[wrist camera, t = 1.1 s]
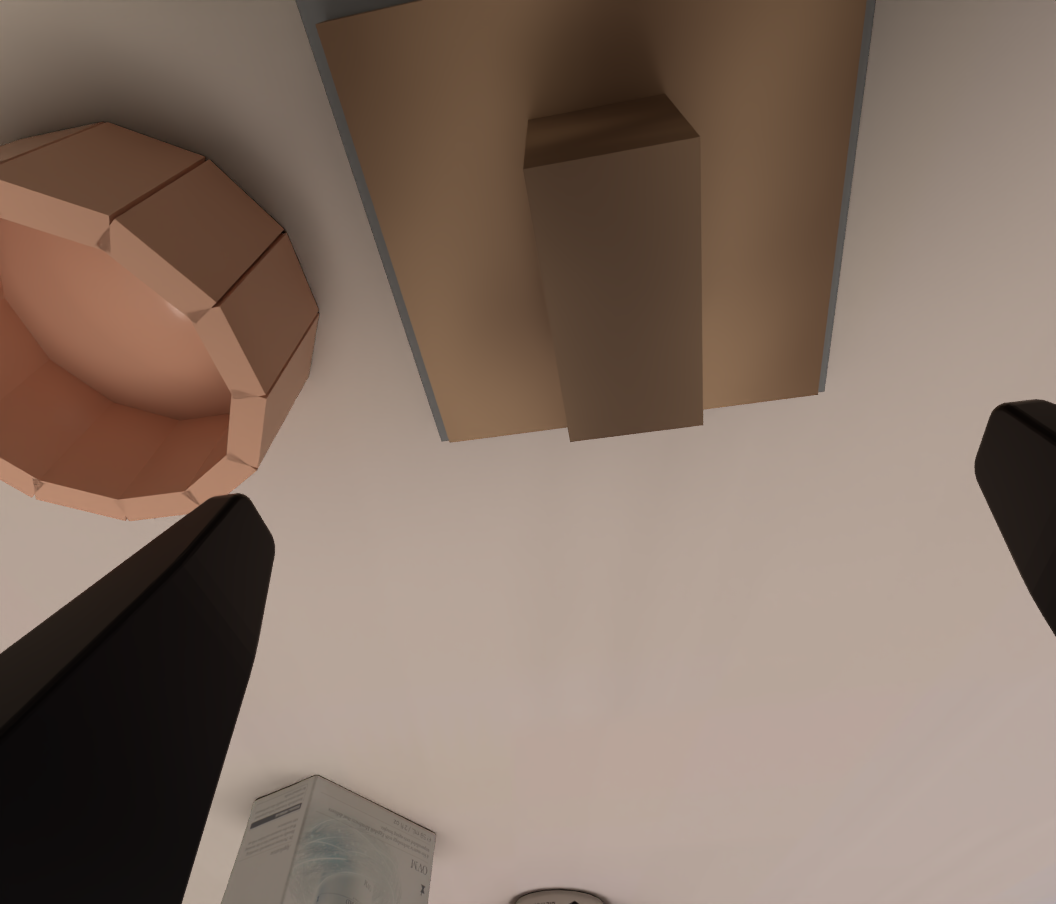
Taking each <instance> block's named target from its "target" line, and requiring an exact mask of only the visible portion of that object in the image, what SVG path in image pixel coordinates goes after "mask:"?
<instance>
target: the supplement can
mask: <svg viewBox="0 0 1056 904" xmlns="http://www.w3.org/2000/svg"><path fill="white" fill-rule="evenodd" d="M515 904H604V903H603V902H602V901H601V900H600V899H599V898H597V897H594V896H592V895H590V894H586V893H581V892H576V891H566V890H550V891H540V892H535V893H530V894H527V895H525V896H523V897H521V898H519V899H518V901H517V902H516V903H515Z"/></svg>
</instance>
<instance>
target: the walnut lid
mask: <svg viewBox="0 0 1056 904" xmlns="http://www.w3.org/2000/svg"><path fill="white" fill-rule="evenodd" d="M866 2H867V0H417V1H412V2H408V3H403V4H399V5H394V6H390V7H385V8H381V9H376V10H372V11H367V12H363V13H358V14H354V15H349V16H345V17H340V18H336V19H331V20H327V21H324V22H321V23H318V24H315V25H316V28H317V32H318V35H319V38H320V41H321V44H322V47H323V50H324V53H325V56H326V59H327V63H328V66H329V69H330V72H331V75H332V78H333V81H334V84H335V87H336V91H337V94H338V97H339V100H340V103H341V106H342V109H343V112H344V115H345V119H346V122H347V125H348V128H349V131H350V134H351V137H352V140H353V143H354V147H355V150H356V153H357V156H358V159H359V162H360V165H361V168H362V171H363V175H364V178H365V181H366V184H367V187H368V190H369V193H370V196H371V199H372V202H373V206H374V209H375V212H376V215H377V218H378V221H379V224H380V227H381V230H382V234H383V237H384V240H385V243H386V246H387V249H388V252H389V255H390V258H391V262H392V265H393V268H394V271H395V274H396V277H397V280H398V283H399V286H400V290H401V293H402V296H403V299H404V302H405V305H406V308H407V311H408V314H409V317H410V321H411V324H412V327H413V330H414V333H415V336H416V339H417V342H418V345H419V349H420V352H421V355H422V358H423V361H424V364H425V367H426V370H427V373H428V377H429V380H430V383H431V386H432V389H433V392H434V395H435V398H436V401H437V405H438V408H439V411H440V414H441V417H442V420H443V423H444V426H445V429H446V433H447V436H448V439H449V442H450V443H451V442H458V441H466V440H474V439H481V438H489V437H497V436H504V435H512V434H520V433H527V432H535V431H543V430H550V429H558V428H566V427H568V432H569V438H570V442H574V441H581V440H589V439H597V438H605V437H613V436H621V435H629V434H636V433H644V432H652V431H660V430H668V429H676V428H684V427H691V426H699V425H703V410H704V409H711V408H719V407H727V406H734V405H742V404H750V403H757V402H765V401H773V400H780V399H788V398H796V397H803V396H811V395H818V389H819V381H820V373H821V365H822V357H823V349H824V341H825V332H826V324H827V316H828V308H829V300H830V292H831V284H832V276H833V268H834V260H835V252H836V244H837V236H838V228H839V220H840V212H841V204H842V196H843V188H844V180H845V172H846V163H847V155H848V147H849V139H850V131H851V123H852V115H853V107H854V99H855V91H856V83H857V75H858V67H859V59H860V51H861V43H862V35H863V27H864V19H865V11H866Z"/></svg>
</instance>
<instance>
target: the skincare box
mask: <svg viewBox="0 0 1056 904" xmlns="http://www.w3.org/2000/svg"><path fill="white" fill-rule="evenodd" d="M435 839H436V834H434V833H433V832H431V831H429V830H427V829H425V828H423V827H421V826H419V825H417V824H415V823H413V822H411V821H409V820H407V819H405V818H403V817H401V816H399V815H397V814H395V813H393V812H391V811H389V810H387V809H385V808H383V807H381V806H379V805H377V804H375V803H373V802H371V801H369V800H367V799H365V798H363V797H361V796H359V795H357V794H355V793H353V792H351V791H349V790H347V789H345V788H343V787H341V786H339V785H337V784H335V783H333V782H331V781H329V780H327V779H324V778H322V777H320V776H317V775H316V776H313V777H310V778H308V779H305V780H303V781H301V782H299V783H297V784H295V785H292V786H290V787H288V788H285V789H282V790H280V791H277V792H275V793H273V794H270V795H268V796H265V797H263V798H260V799H258V800H256V801H255V802H254V804H253V807H252V810H251V814H250V818H249V821H248V824H247V828H246V831H245V833H244V836H243V840H242V843H241V846H240V849H239V852H238V855H237V858H236V860H235V863H234V866H233V869H232V872H231V875H230V878H229V881H228V885H227V888H226V890H225V893H224V896H223V899H222V902H221V904H428V897H429V889H430V881H431V872H432V864H433V855H434V847H435Z"/></svg>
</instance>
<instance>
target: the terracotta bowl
mask: <svg viewBox="0 0 1056 904" xmlns="http://www.w3.org/2000/svg"><path fill="white" fill-rule="evenodd" d="M283 230H284V229H283V228H282V227H281V226H280V225H279V224H278V223H277V222H276V221H275V220H274V219H273V218H272V217H270V216H269V215H268V214H267V213H266V212H265V211H264V210H263V209H262V208H261V207H260V206H259V205H258V204H257V203H256V202H254V201H253V200H252V199H251V198H250V197H249V196H248V195H247V194H246V193H245V192H244V191H243V190H242V189H241V188H239V187H238V186H237V185H236V184H235V183H234V182H233V181H232V180H231V179H230V178H229V177H228V176H227V175H226V174H225V173H223V172H222V171H221V170H220V169H219V168H218V167H217V166H216V165H215V164H214V163H213V162H212V161H211V160H210V159H209V160H207V161H206V162H205V156H202V155H199V154H196V153H193V152H191V151H188V150H185V149H182V148H179V147H177V146H174V145H171V144H168V143H165V142H162V141H160V140H157V139H154V138H151V137H148V136H146V135H143V134H140V133H137V132H134V131H132V130H129V129H126V128H123V127H120V126H117V125H115V124H112V123H109V122H106V123H104V122H99V123H94V124H89V125H84V126H80V127H75V128H70V129H66V130H61V131H56V132H51V133H47V134H42V135H37V136H33V137H28V138H23V139H19V140H16V141H14V142H11V143H8V144H5V145H3V146H0V480H2V481H4V482H5V483H7V484H9V485H11V486H12V487H14V488H16V489H18V490H19V491H21V492H23V493H25V494H26V495H28V496H30V497H33V496H34V495H35V496H36V499H37V500H41V501H46V502H50V503H54V504H58V505H62V506H66V507H70V508H74V509H79V510H83V511H87V512H91V513H95V514H99V515H103V516H108V517H112V518H116V519H120V520H124V521H126V519H128V520H129V521H134V520H143V519H151V518H159V517H167V516H175V515H183V514H189V513H190V512H191V511H193V510H194V509H195V508H197V507H198V506H199V505H201V504H202V503H203V502H205V501H206V500H207V499H209V498H211V497H214V496H219V495H227V494H229V493H230V492H231V491H232V490H234V489H235V488H236V487H237V486H238V485H240V484H241V483H242V482H243V481H245V480H246V479H247V478H248V477H249V476H251V475H252V474H253V473H254V472H255V471H257V469H258V467H259V465H260V464H261V462H262V460H263V458H264V456H265V455H266V453H267V451H268V449H269V447H270V445H271V444H272V442H273V440H274V438H275V436H276V435H277V433H278V431H279V429H280V427H281V426H282V424H283V422H284V420H285V418H286V417H287V415H288V413H289V411H290V409H291V408H292V406H293V404H294V402H295V400H296V398H297V397H298V395H299V393H300V391H301V389H302V388H303V386H304V384H305V382H306V380H307V379H308V377H309V372H310V366H311V360H312V354H313V348H314V342H315V336H316V330H317V324H318V318H319V313H317V312H318V311H319V309H318V307H317V305H316V302H315V300H314V297H313V295H312V293H311V290H310V288H309V285H308V283H307V280H306V278H305V276H304V273H303V271H302V268H301V266H300V264H299V261H298V259H297V256H296V254H295V252H294V249H293V247H292V244H291V242H290V240H289V237H288V235H287V233H284V234H280V233H281V232H282V231H283Z"/></svg>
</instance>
